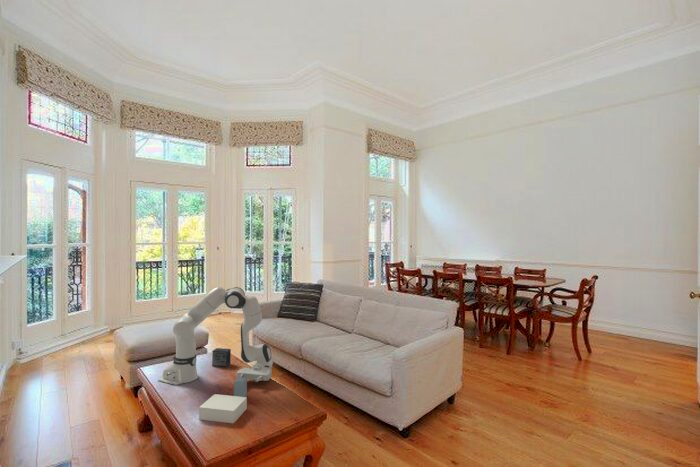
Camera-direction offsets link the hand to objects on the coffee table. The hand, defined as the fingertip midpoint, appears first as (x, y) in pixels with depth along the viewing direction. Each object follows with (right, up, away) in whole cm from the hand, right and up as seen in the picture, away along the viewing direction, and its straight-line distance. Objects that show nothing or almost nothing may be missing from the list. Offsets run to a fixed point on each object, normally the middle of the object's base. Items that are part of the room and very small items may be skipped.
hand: (248, 379), depth 204 cm
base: (-4, -5, -28) cm, 29 cm away
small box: (-29, -5, +36) cm, 46 cm away
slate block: (-2, -5, -10) cm, 12 cm away
